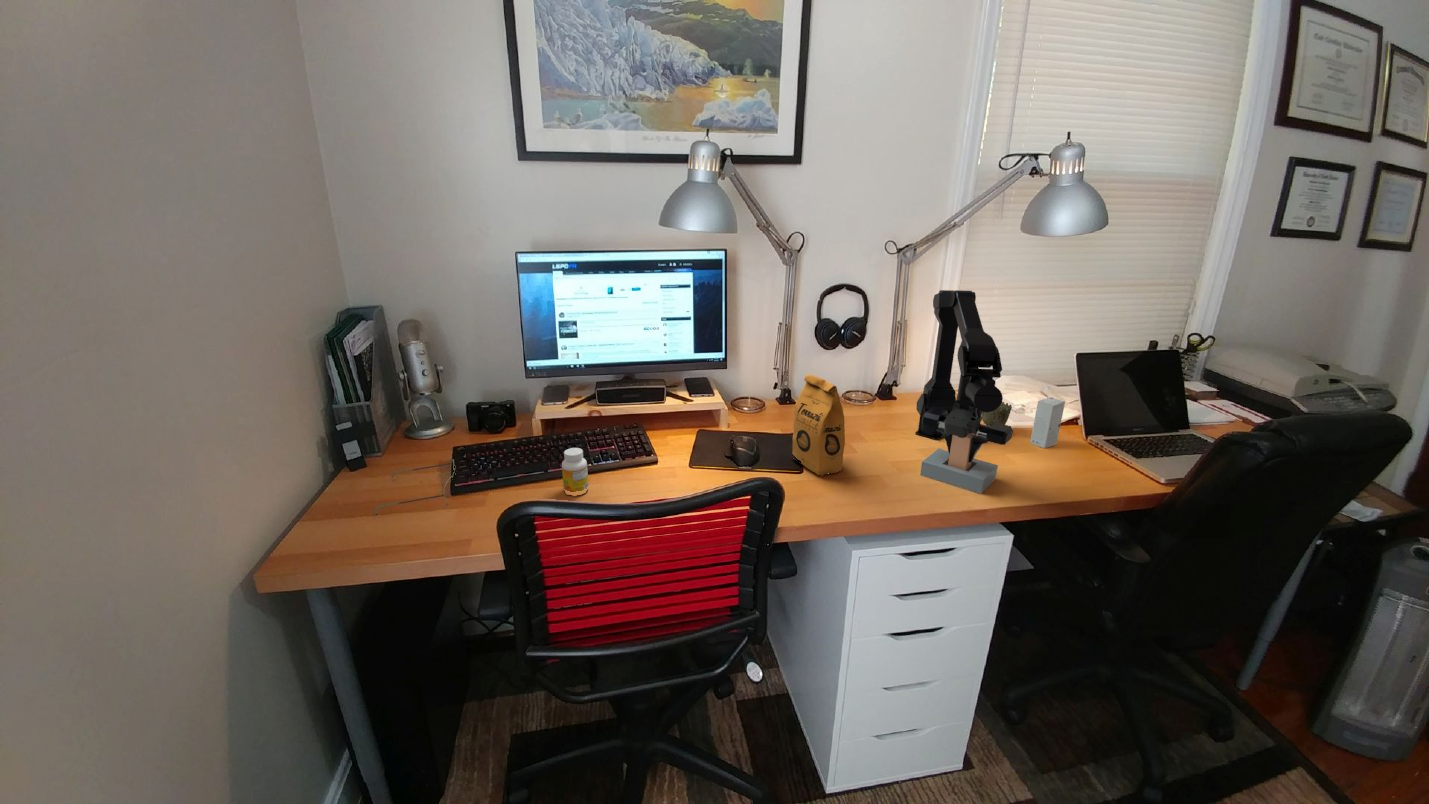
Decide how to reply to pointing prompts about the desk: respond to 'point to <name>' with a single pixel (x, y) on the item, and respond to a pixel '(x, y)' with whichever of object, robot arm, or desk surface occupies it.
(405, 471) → the eyeglasses
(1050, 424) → the skincare box
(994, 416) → the cup
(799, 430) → the coffee package
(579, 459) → the supplement bottle
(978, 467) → the socket block
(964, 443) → the terracotta peg
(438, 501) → the desk surface
